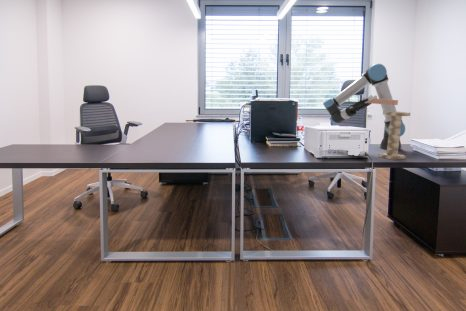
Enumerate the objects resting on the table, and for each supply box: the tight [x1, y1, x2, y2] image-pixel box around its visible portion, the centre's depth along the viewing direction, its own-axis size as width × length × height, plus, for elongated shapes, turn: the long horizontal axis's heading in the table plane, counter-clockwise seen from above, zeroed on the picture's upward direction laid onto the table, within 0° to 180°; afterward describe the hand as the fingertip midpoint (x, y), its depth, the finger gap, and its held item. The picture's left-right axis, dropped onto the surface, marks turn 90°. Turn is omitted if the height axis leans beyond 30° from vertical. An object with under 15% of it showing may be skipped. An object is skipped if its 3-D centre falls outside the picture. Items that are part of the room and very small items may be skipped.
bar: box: [362, 97, 399, 106], centre depth 281 cm, size 24×4×3 cm, turn 37°
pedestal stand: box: [378, 110, 411, 161], centre depth 275 cm, size 12×12×30 cm
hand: (374, 97), depth 284 cm, fingers closed on bar, 4 cm apart
